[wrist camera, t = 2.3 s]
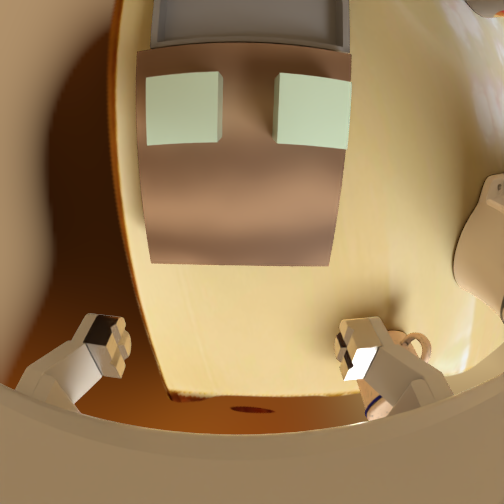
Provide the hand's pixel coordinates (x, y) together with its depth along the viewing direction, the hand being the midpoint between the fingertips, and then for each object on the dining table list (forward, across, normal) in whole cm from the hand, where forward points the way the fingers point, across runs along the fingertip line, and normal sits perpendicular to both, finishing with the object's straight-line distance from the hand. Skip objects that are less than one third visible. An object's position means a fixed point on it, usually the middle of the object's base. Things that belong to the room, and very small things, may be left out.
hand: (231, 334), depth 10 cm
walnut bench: (+15, 0, -4) cm, 16 cm away
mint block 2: (+11, -4, -8) cm, 14 cm away
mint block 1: (+11, +3, -8) cm, 14 cm away
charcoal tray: (+15, -1, -18) cm, 23 cm away
